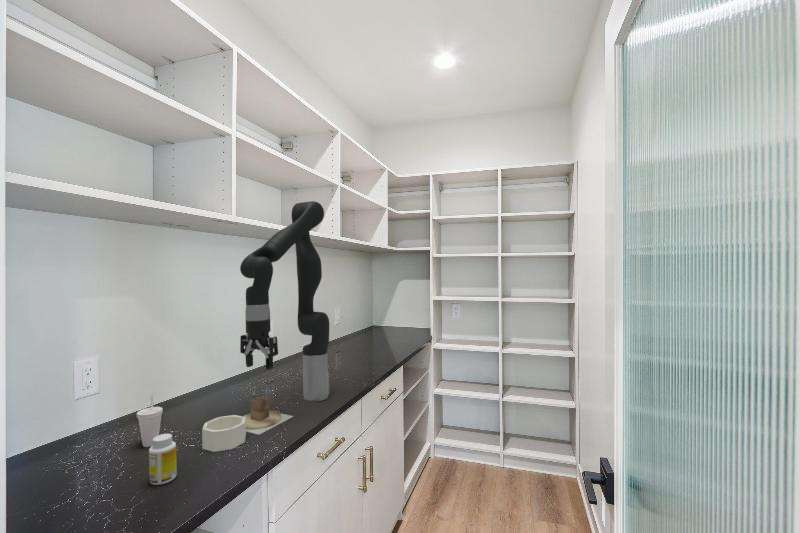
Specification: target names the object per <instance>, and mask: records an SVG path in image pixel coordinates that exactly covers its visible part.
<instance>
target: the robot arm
mask: <svg viewBox="0 0 800 533" xmlns="http://www.w3.org/2000/svg"><path fill="white" fill-rule="evenodd" d="M324 218H325V210H324V207H323V206H322V204H321V203H320V202H317V201H313V200H311V201H305V202H298V203H295V204H294V205H293V207H292V209H291V222H292V223H290V224H288V225H287V226H285V227H283V228H282V229H280V230H279V231H278V232H276V233H275V234H273V235H272V236H271V237H270V238H269V239H268V240H267V241H266V242H265V243H264V244H263V245H262V246H261V247H259V248H257V249H255V250H254V251H253V252H251V253H250V254H248V255H247V256H246V257H245V258H243V260H242V262H241V264H240V267H239V270H240V273H241V275H242V276H243V277H245V278H247V279H253V283H252V285H251V286H249V287H247V288H246V290H245V311H244V312H245V333H246V334H243V335H240V339H239V340H240V343H239V344H240V346H239V348H240V349H239V350H240V354H243V355H244V356H245V365H246V366H245V367H247V368H250V367H253V366H254V355H253V352H255V350H258V351H260V352H261V353H263V355H264V357H265V370H268V371H269V370H272V369H273V367H274V357H275V356H278V355H279V348H278V337H277V336H276V335H275V336H270V332H271V309H270V296H269V295H270V294H269V293H270V292H269V291H270V286H271V283H272V280H273V274H274V267H273V263H276V262H277V261H279V260H280V259H282V257H283V256H284V255H285V254H286V253H287V252H288V251H289V250H290V248H292V247H293V246H294V245H295V254H296V276H297V291H298V292H297V294H298V298H297V299H298V301H297V302H298V303H297V304H298V306H297V328H298V330H299V333H301V334H302V335H304V336H311V340H310V341H311V342H310V343H309V344H306V345H304V346H303V347H302V377H303V378H302V379H303V380H302V382H303V383H302V384H303V386H302V387H303V389H302V390H303V392H302V393H303V400H305V401H310V402H321V401H324V400H327V399H328V397H329V396H330V371H329V370H328V347H329V343H330V319H329V316H328V314H327V313H326V312H323V311H314V310H315V309H314V300H315V299H314V298H315V295H316V293H317V290H318V288H319V285H320V284H321V281H322V278H323V277H322V276H323V271H322V268H323V267H322V260H321V257H320V255H319V252H318V251H317V249H316V248H315V246H314V244H313V242H312V239H311V234H310V231H311V230H313V229H314V228H315V227H317V226H318V225H320V224H321V223H322V222H323V220H324Z"/></svg>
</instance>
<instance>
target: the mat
mask: <svg viewBox="0 0 800 533" xmlns="http://www.w3.org/2000/svg"><path fill="white" fill-rule="evenodd" d="M279 413H280V414H281V420H280V421H279V422H278V423H276V424H275V425H273V426H270V427H267V428H262V429H254V430H248V429H246V433H252V434H255V435H258V436H259V435H262V434H264V433H266V432H267V431H269V430H271V429H273V428H274V427H275V428H276V426H278V425H280V424H282V423H284V422H286V421H288V420H289V419H291V418H294V415H290V414H284V413H281V412H279Z"/></svg>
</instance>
